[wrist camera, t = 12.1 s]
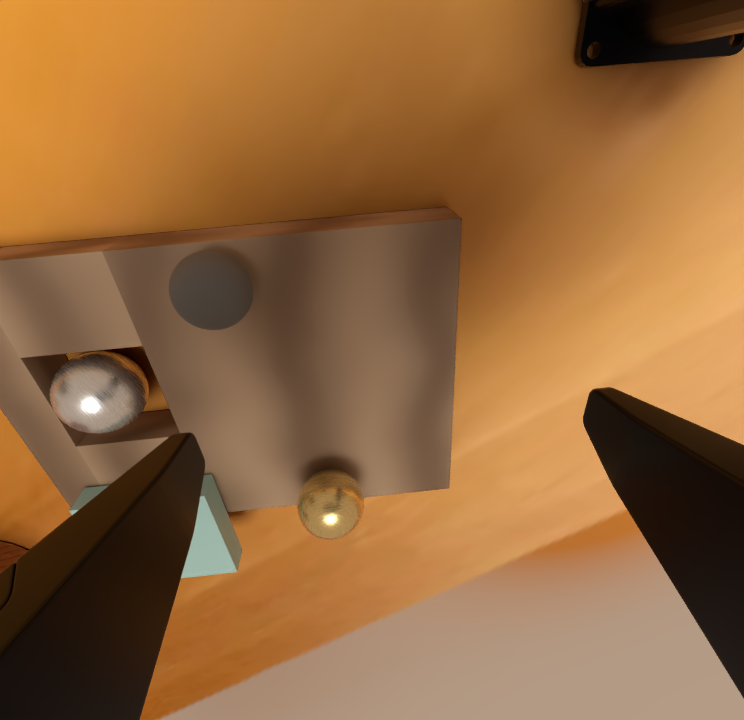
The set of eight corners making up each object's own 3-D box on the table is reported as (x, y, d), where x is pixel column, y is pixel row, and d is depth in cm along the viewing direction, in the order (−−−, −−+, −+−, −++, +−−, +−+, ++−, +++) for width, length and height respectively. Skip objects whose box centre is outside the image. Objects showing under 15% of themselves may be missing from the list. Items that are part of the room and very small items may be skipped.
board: (447, 206, 18) (461, 218, 16) (440, 459, 27) (449, 488, 25) (-49, 251, 18) (-99, 269, 16) (105, 495, 26) (85, 527, 24)
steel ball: (65, 419, 16) (150, 359, 19) (10, 373, 18) (96, 322, 20) (107, 463, 19) (175, 407, 22) (58, 421, 21) (128, 372, 23)
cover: (211, 474, 22) (198, 512, 20) (242, 549, 26) (233, 588, 24) (84, 487, 22) (57, 527, 20) (133, 561, 26) (114, 601, 24)
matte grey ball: (249, 237, 16) (233, 261, 13) (265, 307, 17) (253, 340, 15) (173, 244, 16) (142, 270, 13) (196, 313, 17) (172, 348, 15)
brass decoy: (359, 452, 22) (362, 505, 19) (364, 495, 24) (368, 550, 21) (295, 458, 22) (288, 513, 19) (305, 501, 24) (300, 557, 21)
